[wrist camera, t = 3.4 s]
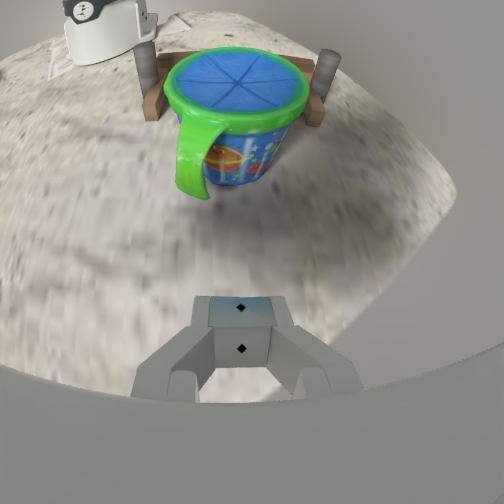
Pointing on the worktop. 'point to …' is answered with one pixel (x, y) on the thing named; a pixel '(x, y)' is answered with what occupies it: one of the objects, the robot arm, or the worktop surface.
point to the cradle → (158, 69)
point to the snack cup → (231, 114)
